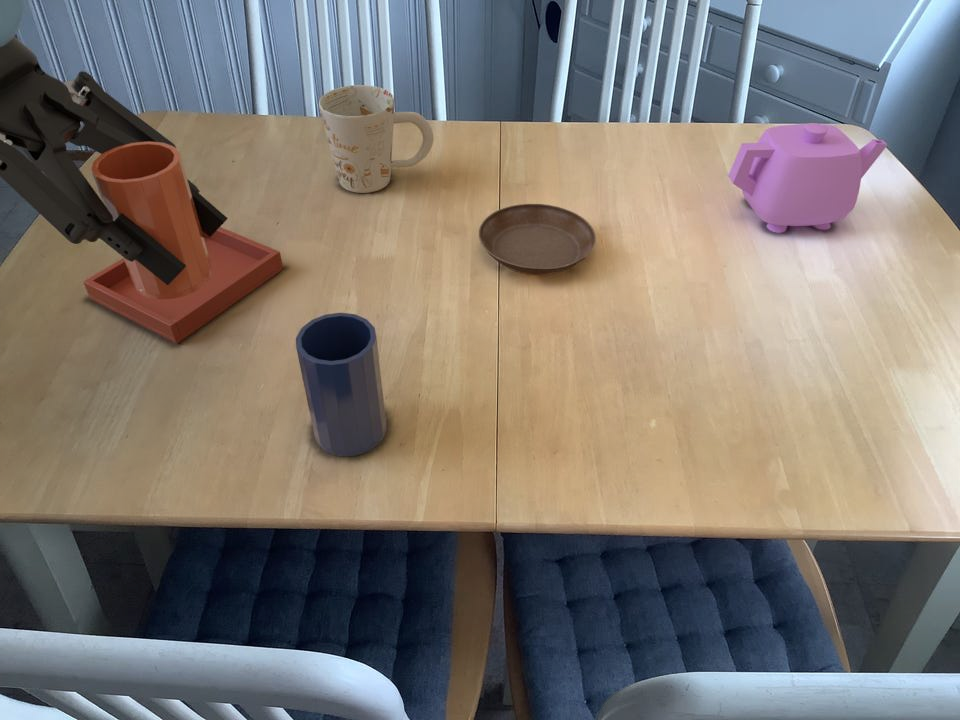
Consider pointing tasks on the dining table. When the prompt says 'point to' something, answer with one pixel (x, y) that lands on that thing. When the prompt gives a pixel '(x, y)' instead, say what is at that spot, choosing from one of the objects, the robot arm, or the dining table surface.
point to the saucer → (537, 238)
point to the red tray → (232, 278)
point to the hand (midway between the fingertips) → (198, 250)
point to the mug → (366, 135)
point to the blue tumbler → (342, 383)
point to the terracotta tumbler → (155, 211)
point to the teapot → (802, 174)
